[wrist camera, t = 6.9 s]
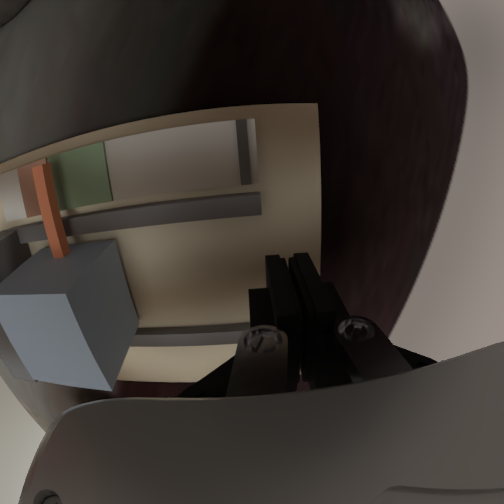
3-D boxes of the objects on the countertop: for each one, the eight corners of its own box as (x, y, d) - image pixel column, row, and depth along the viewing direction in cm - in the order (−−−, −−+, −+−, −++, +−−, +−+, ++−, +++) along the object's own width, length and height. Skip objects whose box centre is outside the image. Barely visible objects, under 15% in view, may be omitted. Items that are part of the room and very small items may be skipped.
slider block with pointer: (22, 171, 10) (-44, 197, 6) (97, 149, 10) (30, 167, 6) (69, 323, 14) (33, 379, 9) (139, 323, 14) (112, 391, 10)
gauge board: (-29, 179, 11) (-86, 204, 6) (310, 105, 11) (355, 93, 6) (38, 358, 17) (9, 406, 12) (309, 358, 17) (328, 427, 12)
